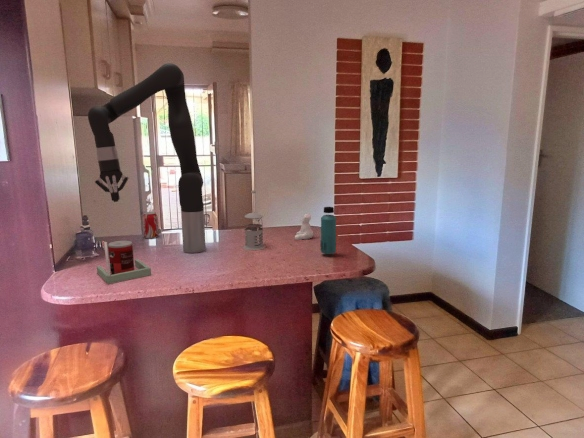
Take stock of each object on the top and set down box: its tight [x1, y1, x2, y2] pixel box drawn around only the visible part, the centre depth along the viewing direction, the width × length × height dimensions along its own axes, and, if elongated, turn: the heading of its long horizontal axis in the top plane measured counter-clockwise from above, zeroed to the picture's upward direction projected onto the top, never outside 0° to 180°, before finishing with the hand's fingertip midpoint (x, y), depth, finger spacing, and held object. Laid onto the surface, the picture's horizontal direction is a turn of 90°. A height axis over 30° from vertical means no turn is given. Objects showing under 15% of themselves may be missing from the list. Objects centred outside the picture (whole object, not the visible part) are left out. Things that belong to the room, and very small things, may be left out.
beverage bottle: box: [320, 206, 337, 255], centre depth 166 cm, size 6×7×20 cm
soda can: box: [141, 211, 160, 240], centre depth 196 cm, size 7×7×12 cm
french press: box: [242, 190, 266, 251], centre depth 179 cm, size 10×12×25 cm
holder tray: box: [96, 240, 152, 285], centre depth 144 cm, size 14×14×14 cm
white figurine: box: [294, 213, 314, 241], centre depth 195 cm, size 10×9×12 cm
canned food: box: [107, 240, 135, 275], centre depth 146 cm, size 8×8×11 cm
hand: (116, 201), depth 167 cm, fingers closed
